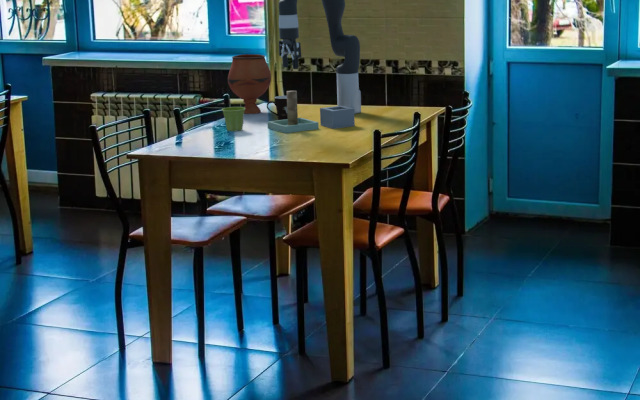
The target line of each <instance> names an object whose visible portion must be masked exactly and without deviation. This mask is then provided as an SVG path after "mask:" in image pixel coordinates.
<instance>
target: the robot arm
mask: <svg viewBox="0 0 640 400" xmlns="http://www.w3.org/2000/svg"><path fill="white" fill-rule="evenodd" d="M321 3H322V6H323V10H324V13H325V17H326V22H327V27H328V33H329V34H328V35H329V41H330V46H331V49H332V52H333V54H335V56H337V57H344V60H343V62H342V64H339V65H338V66H336V95H337V96H336V97H337V98H336V101H337V106H345V107H350V108H354V115H355V114H359V113H362V94H361V93H362V92H361V90H360V87H359V85H360V84H359V69H360V68H359V67H360V63H361V59H360V58H361V43H360V40H359V38H358V37H357V35H354V34H344V31H343V26H342V19H343V15H344V12H345V8H346V1H345V0H321ZM297 6H298V0H279V1H278V33H279V39H280V40H278V56H279V57H280V58H281V59H282V60H281V62H282V68H289V55H290V57H291V59H292V60H291V61H292V70H298V69H299V68H300V67H299V59H301V58H302V47H301V46H302V45H301V42H300V41H299V42H298V41H297V39H299V36H300V35H299V33H300V32H299V18H298V7H297Z"/></svg>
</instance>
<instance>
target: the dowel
mask: <svg viewBox="0 0 640 400" xmlns="http://www.w3.org/2000/svg"><path fill="white" fill-rule="evenodd" d="M286 96H287V115H288V126H289V125H297V124H298V118H299V117H298V113H299V112H298V92H297V90H286Z"/></svg>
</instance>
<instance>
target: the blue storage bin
mask: <svg viewBox="0 0 640 400" xmlns="http://www.w3.org/2000/svg"><path fill="white" fill-rule="evenodd" d="M319 117H320V126H321V127H325V128H329V129H332V130H333V129H341V128H348V127H355V126H356V125H355V124H356V123H355V114H354V108H350V107H345V106H338V105H335V106H328V107H320V108H319Z"/></svg>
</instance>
